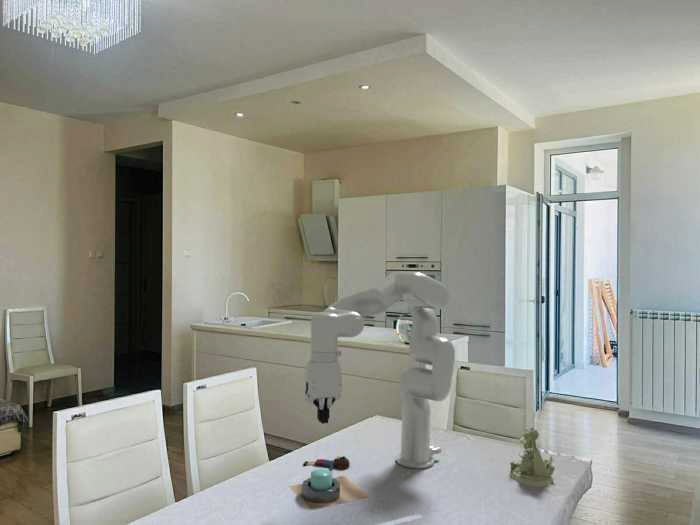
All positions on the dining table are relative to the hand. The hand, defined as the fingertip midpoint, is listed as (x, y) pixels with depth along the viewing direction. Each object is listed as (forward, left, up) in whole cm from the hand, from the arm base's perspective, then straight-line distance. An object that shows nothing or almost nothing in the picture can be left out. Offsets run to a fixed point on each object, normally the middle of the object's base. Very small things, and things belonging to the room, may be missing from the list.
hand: (323, 421), depth 149 cm
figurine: (-66, +16, -22) cm, 71 cm away
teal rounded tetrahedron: (0, 0, -20) cm, 20 cm away
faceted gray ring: (0, 0, -20) cm, 20 cm away
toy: (-11, -19, -22) cm, 31 cm away
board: (-3, -1, -21) cm, 22 cm away
